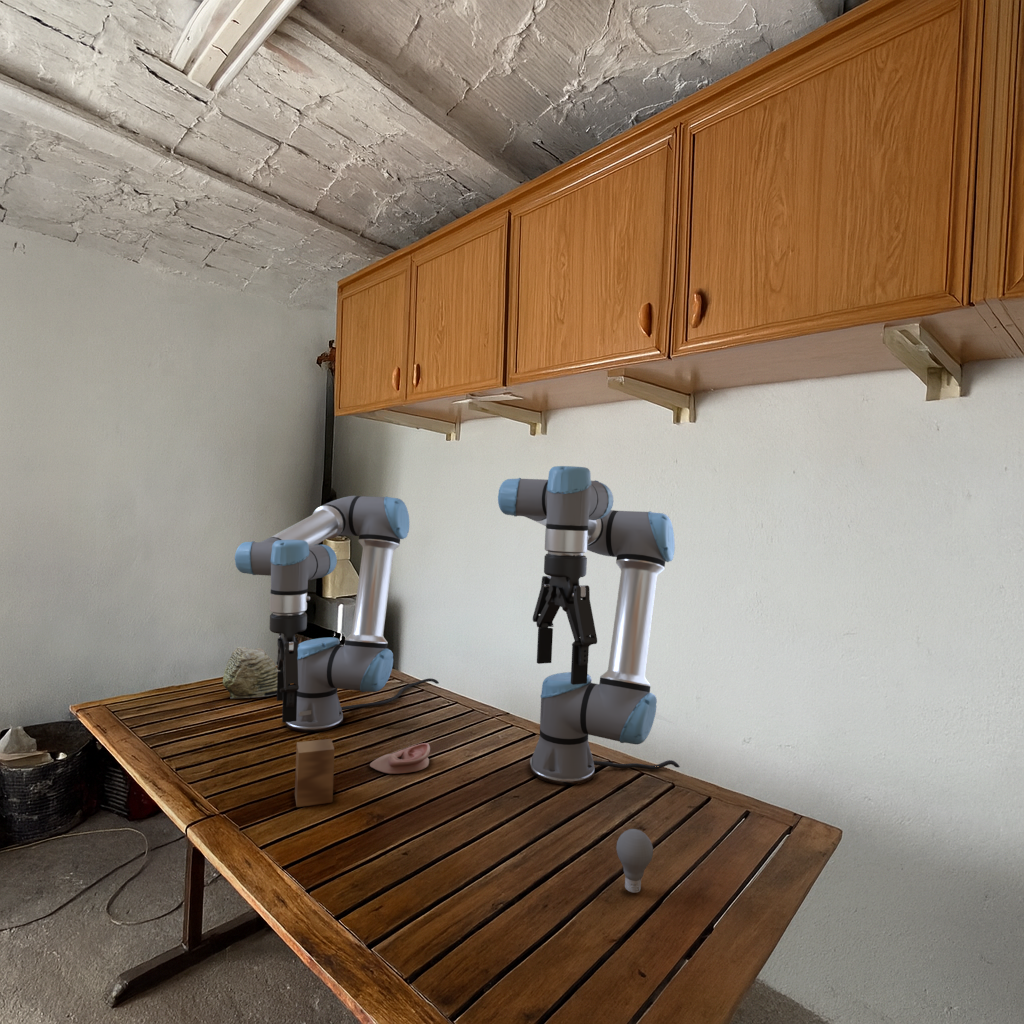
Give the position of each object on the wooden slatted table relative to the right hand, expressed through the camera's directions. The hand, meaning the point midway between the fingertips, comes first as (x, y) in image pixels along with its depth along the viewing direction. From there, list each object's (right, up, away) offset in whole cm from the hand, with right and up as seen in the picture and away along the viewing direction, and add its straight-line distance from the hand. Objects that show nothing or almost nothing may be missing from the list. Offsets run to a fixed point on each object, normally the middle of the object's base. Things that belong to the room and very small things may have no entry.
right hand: (560, 672), depth 113 cm
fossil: (-89, -29, +85) cm, 127 cm away
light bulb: (+12, -35, -7) cm, 37 cm away
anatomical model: (-35, -32, +39) cm, 61 cm away
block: (-50, -32, +20) cm, 63 cm away
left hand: (-57, -14, +24) cm, 64 cm away
